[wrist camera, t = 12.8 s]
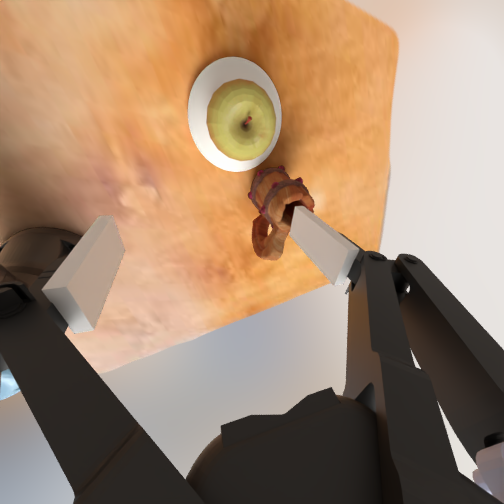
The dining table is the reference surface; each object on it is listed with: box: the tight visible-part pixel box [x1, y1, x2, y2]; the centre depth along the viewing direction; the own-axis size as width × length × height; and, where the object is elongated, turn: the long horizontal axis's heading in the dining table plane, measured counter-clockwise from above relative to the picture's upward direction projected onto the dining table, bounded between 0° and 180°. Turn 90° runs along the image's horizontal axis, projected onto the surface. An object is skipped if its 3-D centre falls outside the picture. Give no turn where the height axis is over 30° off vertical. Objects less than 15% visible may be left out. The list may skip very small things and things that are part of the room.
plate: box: [188, 57, 282, 172], centre depth 32 cm, size 15×15×1 cm
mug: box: [248, 165, 315, 260], centre depth 35 cm, size 15×8×15 cm, turn 155°
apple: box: [206, 79, 276, 161], centre depth 28 cm, size 10×10×8 cm
